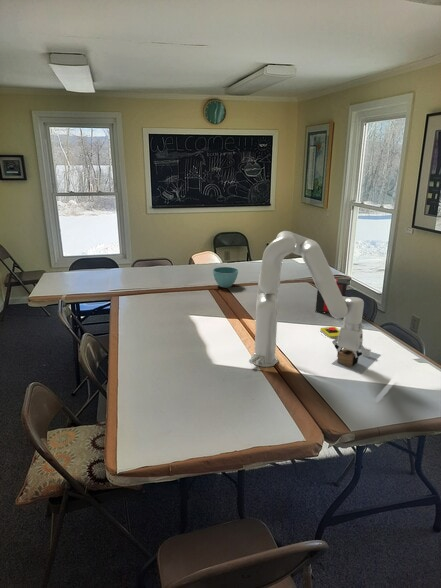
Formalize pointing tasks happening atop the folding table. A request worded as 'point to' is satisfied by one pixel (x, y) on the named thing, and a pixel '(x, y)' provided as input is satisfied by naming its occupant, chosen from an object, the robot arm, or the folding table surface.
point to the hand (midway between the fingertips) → (347, 361)
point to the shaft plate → (361, 361)
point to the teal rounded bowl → (225, 276)
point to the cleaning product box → (320, 301)
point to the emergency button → (330, 332)
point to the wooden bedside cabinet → (346, 357)
